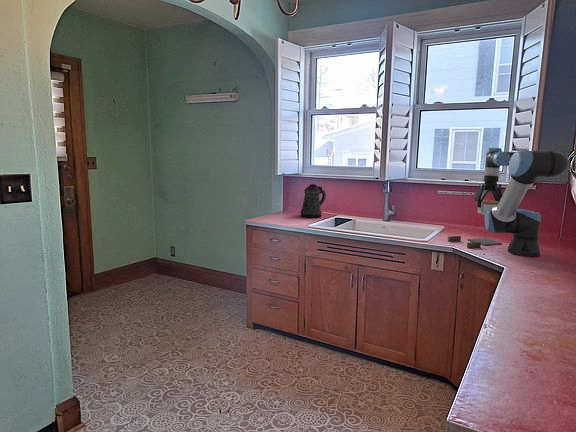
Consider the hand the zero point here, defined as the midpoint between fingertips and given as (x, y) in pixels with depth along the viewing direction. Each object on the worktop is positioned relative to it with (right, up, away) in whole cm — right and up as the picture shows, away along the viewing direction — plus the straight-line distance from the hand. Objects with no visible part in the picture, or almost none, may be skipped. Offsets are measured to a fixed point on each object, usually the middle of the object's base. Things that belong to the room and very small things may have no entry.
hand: (487, 212), depth 232 cm
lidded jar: (0, -1, 0) cm, 1 cm away
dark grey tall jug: (-98, -2, +78) cm, 125 cm away
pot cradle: (-15, -18, -3) cm, 24 cm away
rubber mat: (0, -17, +3) cm, 18 cm away
